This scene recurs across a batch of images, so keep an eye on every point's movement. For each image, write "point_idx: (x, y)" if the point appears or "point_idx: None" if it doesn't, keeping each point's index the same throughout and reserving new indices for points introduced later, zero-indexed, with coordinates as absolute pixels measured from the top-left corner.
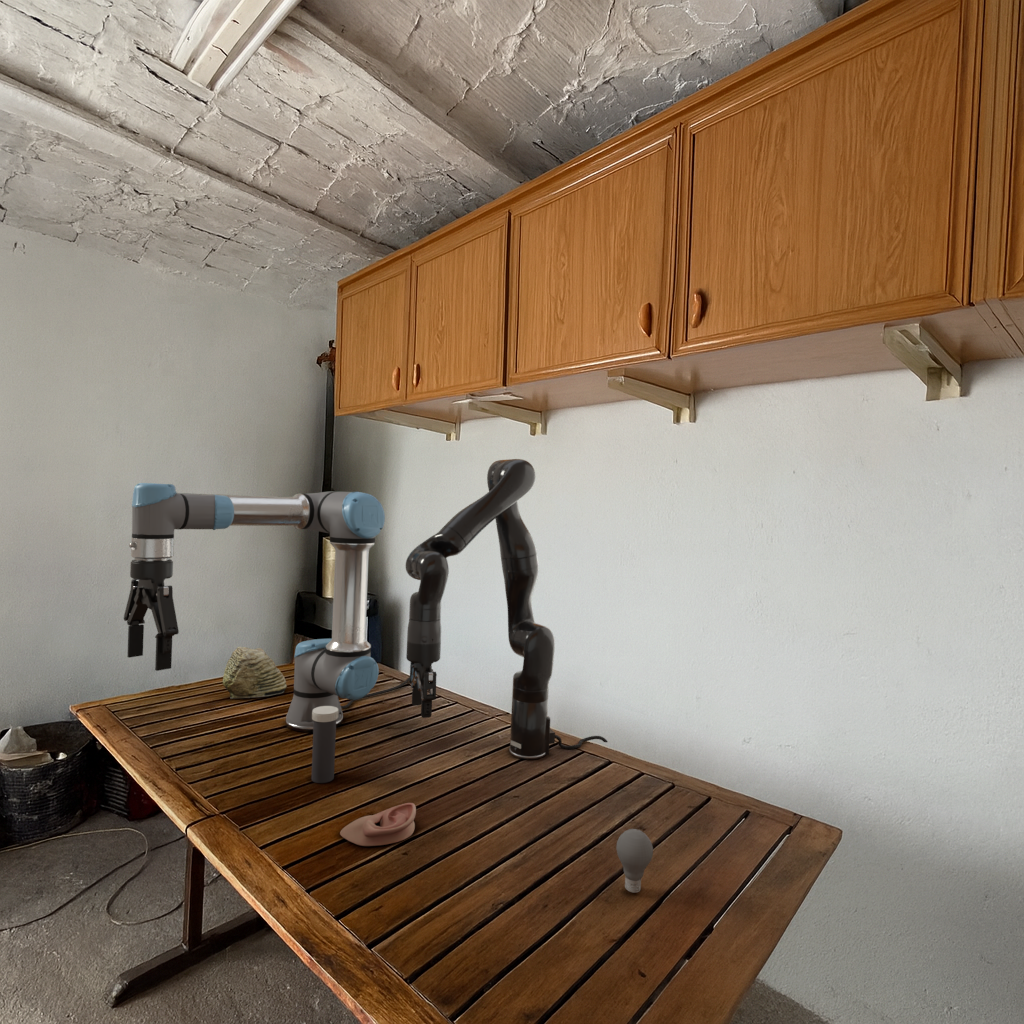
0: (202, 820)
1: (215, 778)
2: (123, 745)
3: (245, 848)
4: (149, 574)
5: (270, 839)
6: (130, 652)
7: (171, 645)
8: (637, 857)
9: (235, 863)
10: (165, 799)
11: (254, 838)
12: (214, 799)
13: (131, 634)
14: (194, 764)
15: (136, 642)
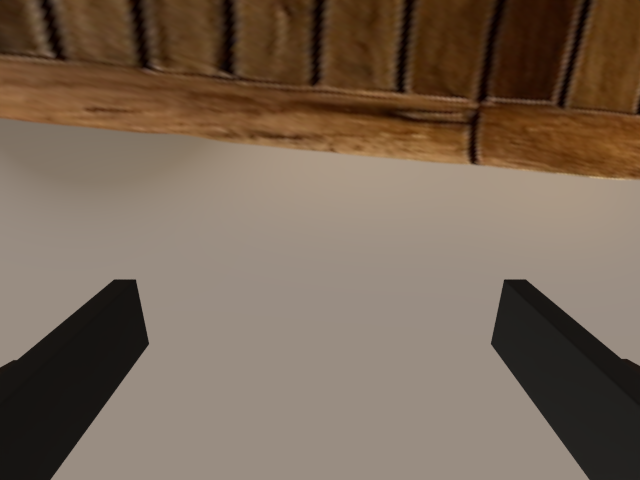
0: (476, 138)
1: (331, 28)
2: (12, 101)
3: (617, 132)
4: None
5: (636, 86)
6: (134, 356)
7: (633, 374)
8: None
9: (636, 165)
10: (350, 149)
11: (607, 104)
12: (421, 82)
13: (56, 455)
14: (224, 26)
15: (93, 370)
